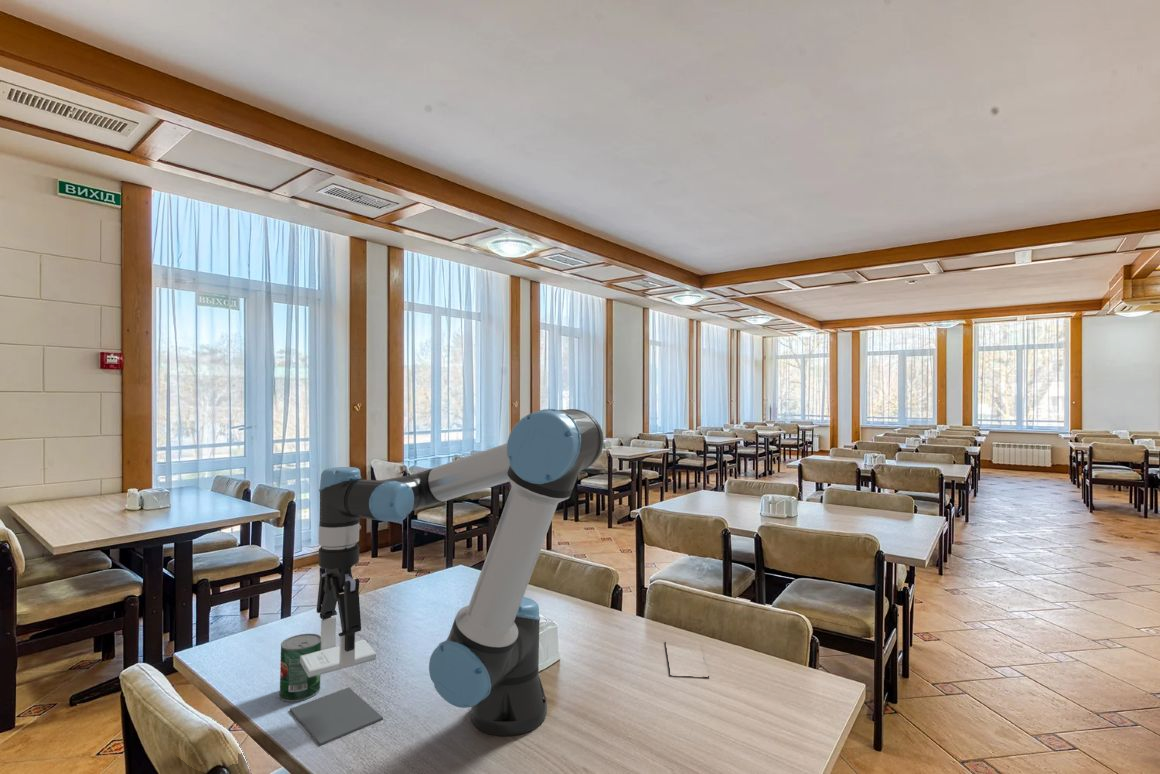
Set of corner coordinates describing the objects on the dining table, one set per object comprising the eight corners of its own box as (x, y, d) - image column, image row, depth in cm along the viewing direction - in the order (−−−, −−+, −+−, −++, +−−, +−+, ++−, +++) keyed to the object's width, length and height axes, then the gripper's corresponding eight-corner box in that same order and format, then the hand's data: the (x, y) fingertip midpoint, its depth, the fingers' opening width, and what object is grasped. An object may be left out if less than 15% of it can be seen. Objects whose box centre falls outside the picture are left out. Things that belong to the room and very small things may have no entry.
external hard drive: (375, 660, 113) (308, 678, 106) (363, 646, 120) (299, 662, 112) (376, 652, 113) (309, 670, 106) (363, 638, 120) (299, 654, 112)
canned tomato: (274, 691, 121) (275, 640, 121) (312, 679, 126) (313, 630, 127) (286, 706, 115) (287, 652, 115) (326, 692, 121) (327, 641, 121)
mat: (382, 719, 111) (382, 717, 111) (320, 745, 102) (320, 743, 102) (348, 689, 122) (348, 687, 122) (290, 710, 114) (290, 708, 114)
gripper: (381, 551, 108) (379, 670, 108) (336, 532, 123) (334, 636, 123) (342, 559, 103) (340, 684, 102) (300, 538, 118) (298, 646, 117)
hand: (337, 657), depth 113 cm, fingers closed on external hard drive, 9 cm apart
